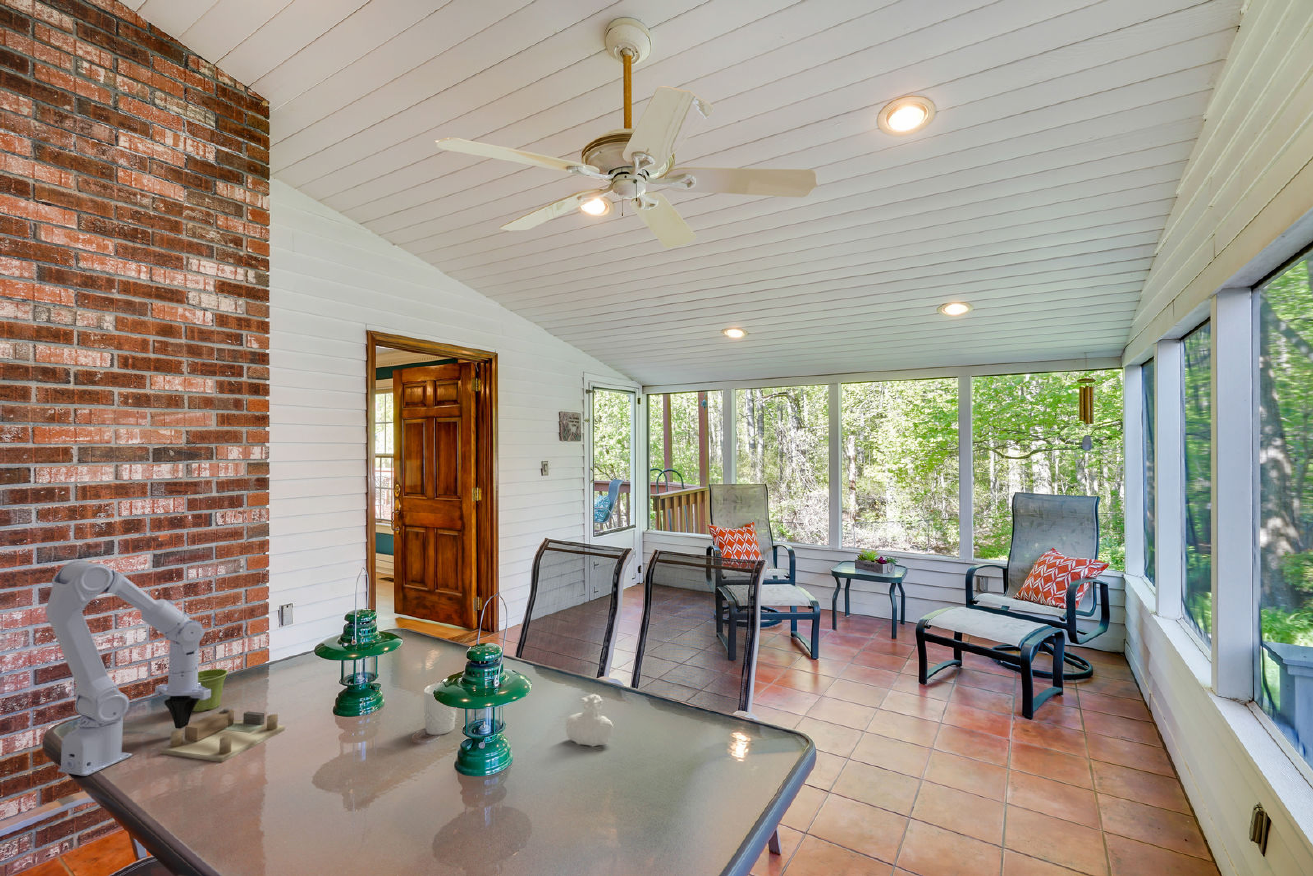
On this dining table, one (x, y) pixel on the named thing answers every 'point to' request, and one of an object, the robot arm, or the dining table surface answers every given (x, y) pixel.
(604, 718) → the white sack
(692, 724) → the dining table surface
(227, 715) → the hinged leg
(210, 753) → the tan peg board
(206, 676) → the plant pot
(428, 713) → the white cup
